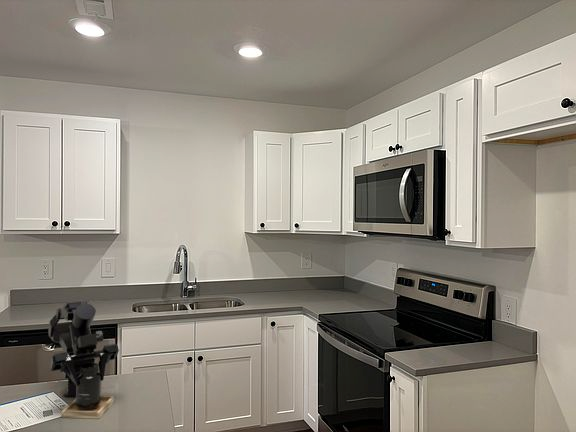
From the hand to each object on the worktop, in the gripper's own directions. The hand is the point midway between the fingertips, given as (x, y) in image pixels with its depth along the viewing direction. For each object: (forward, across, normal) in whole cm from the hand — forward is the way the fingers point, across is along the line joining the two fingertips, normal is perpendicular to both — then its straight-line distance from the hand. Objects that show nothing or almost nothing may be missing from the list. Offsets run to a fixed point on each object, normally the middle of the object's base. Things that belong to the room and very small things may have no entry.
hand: (90, 382), depth 135 cm
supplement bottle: (+4, 0, +6) cm, 7 cm away
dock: (+5, 0, +7) cm, 9 cm away
